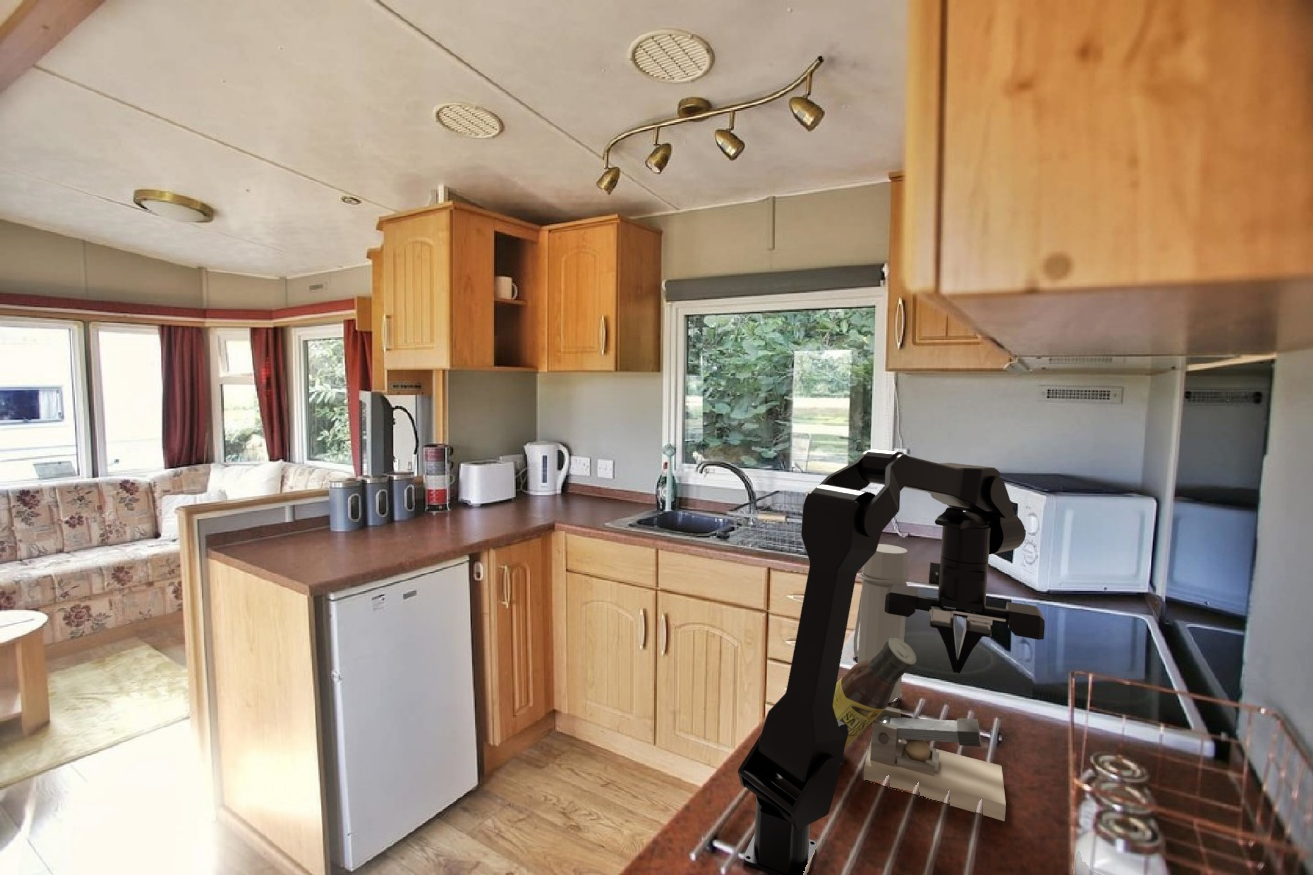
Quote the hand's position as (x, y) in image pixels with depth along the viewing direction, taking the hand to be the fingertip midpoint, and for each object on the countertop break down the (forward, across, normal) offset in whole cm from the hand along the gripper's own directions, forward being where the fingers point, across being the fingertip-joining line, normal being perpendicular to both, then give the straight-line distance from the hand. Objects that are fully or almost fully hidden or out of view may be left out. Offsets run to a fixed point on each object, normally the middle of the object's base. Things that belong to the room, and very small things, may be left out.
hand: (956, 672), depth 84 cm
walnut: (+10, +4, +5) cm, 11 cm away
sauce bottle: (+12, +16, +5) cm, 21 cm away
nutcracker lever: (+7, +3, +5) cm, 9 cm away
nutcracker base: (+13, +2, +5) cm, 14 cm away
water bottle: (+13, +12, -17) cm, 25 cm away
